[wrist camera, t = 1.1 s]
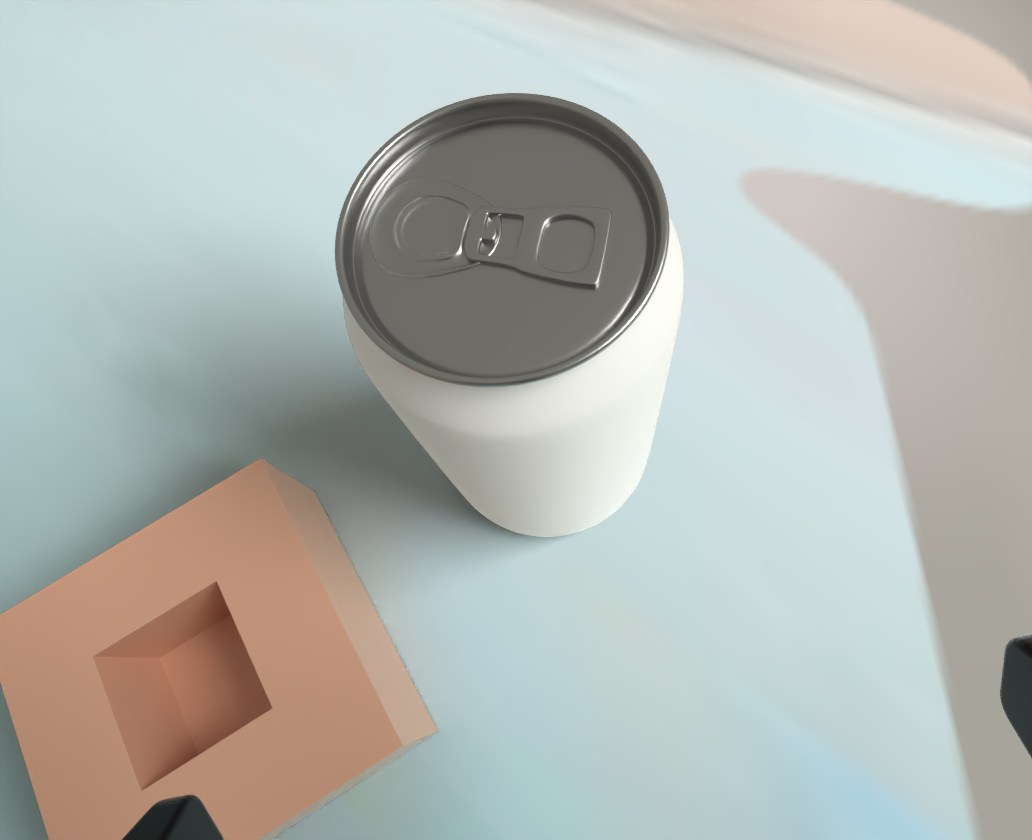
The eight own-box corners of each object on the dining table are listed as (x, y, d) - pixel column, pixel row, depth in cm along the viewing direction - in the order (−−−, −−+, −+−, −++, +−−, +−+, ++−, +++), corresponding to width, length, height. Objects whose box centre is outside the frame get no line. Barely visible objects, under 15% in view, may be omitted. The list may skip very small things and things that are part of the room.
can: (473, 335, 25) (365, 59, 13) (663, 363, 24) (720, 87, 12) (428, 519, 23) (259, 377, 12) (633, 559, 22) (667, 444, 10)
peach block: (438, 731, 21) (402, 745, 17) (180, 898, 20) (83, 952, 16) (314, 491, 24) (260, 457, 20) (84, 631, 23) (-18, 624, 19)
